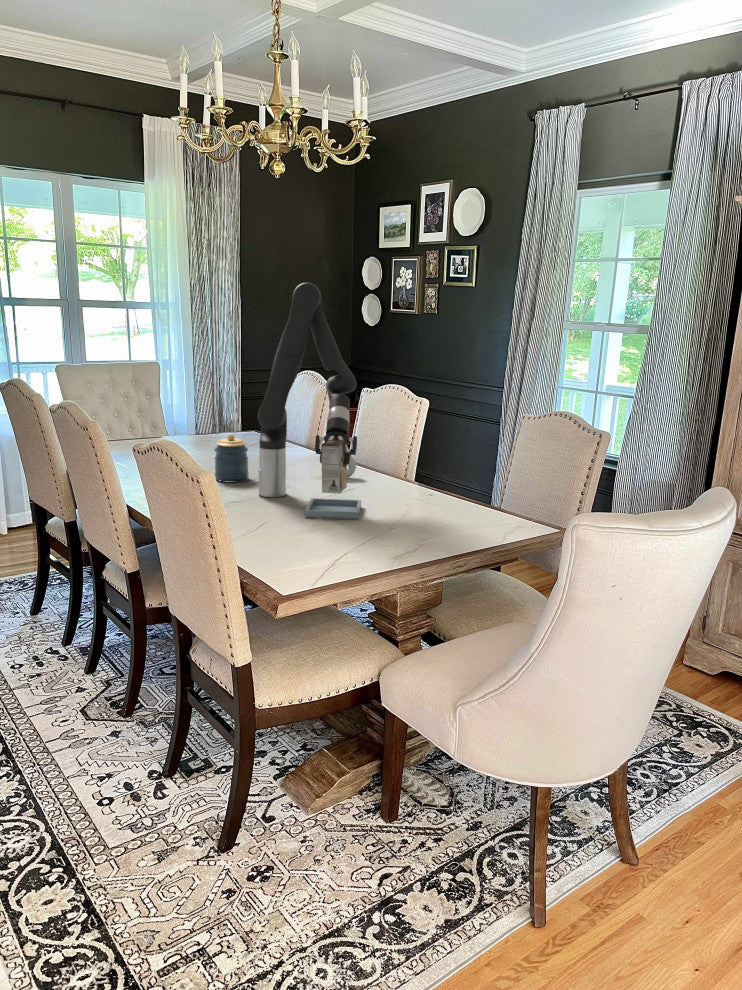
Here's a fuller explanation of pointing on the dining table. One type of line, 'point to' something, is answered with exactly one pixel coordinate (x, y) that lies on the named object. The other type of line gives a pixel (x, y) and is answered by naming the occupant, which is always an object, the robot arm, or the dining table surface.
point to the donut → (351, 467)
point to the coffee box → (333, 466)
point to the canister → (231, 460)
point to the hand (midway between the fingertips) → (334, 464)
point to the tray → (333, 509)
